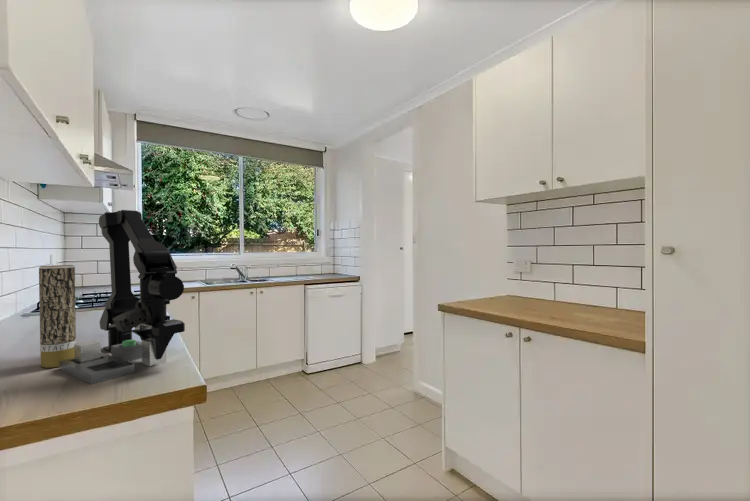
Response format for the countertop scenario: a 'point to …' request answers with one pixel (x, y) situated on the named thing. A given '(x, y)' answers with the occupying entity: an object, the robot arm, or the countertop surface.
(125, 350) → the grey hollow square block
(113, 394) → the countertop surface
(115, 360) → the rectangular frame
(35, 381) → the countertop surface
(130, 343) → the button
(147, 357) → the block
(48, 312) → the paper tube
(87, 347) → the block
